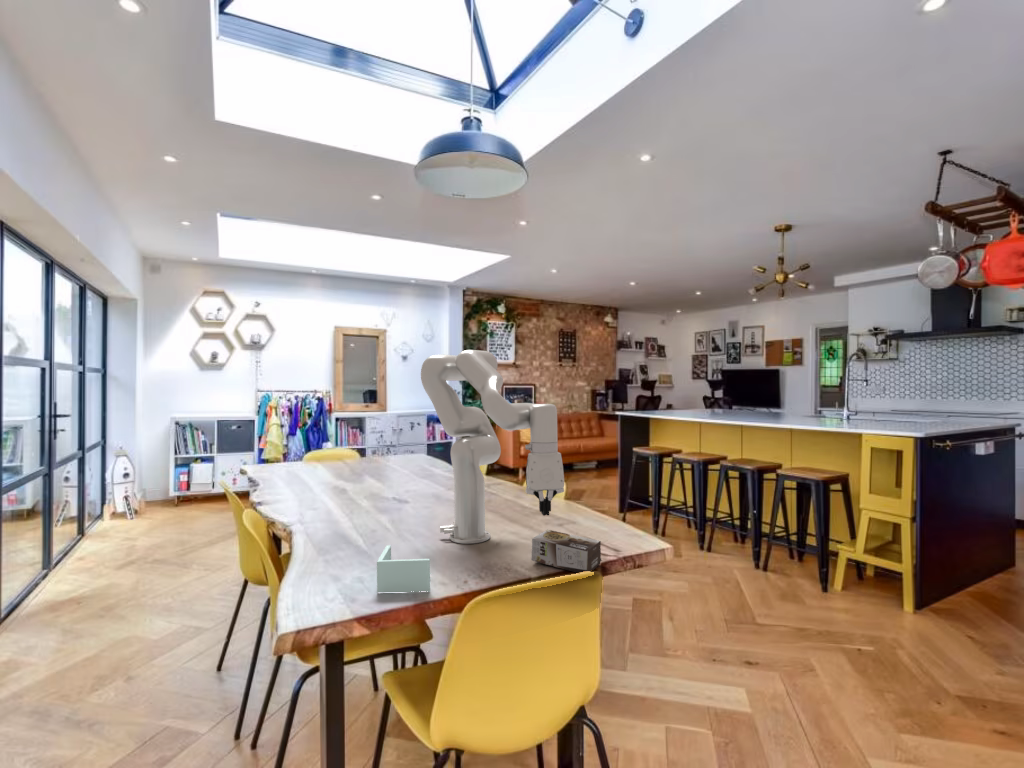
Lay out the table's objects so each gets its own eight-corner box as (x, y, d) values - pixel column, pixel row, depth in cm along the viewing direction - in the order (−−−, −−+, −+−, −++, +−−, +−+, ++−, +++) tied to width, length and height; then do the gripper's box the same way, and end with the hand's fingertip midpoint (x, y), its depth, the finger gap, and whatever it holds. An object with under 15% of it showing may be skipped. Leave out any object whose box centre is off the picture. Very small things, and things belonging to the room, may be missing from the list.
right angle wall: (429, 592, 117) (429, 560, 117) (377, 594, 116) (376, 561, 116) (434, 573, 129) (434, 543, 129) (387, 574, 128) (386, 545, 128)
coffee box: (530, 561, 134) (587, 576, 126) (531, 537, 134) (587, 551, 125) (547, 551, 142) (601, 564, 133) (547, 528, 142) (601, 540, 133)
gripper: (519, 450, 136) (520, 519, 136) (573, 448, 138) (574, 516, 138) (515, 447, 143) (516, 512, 143) (566, 445, 146) (567, 509, 145)
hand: (545, 514), depth 141 cm, fingers closed
